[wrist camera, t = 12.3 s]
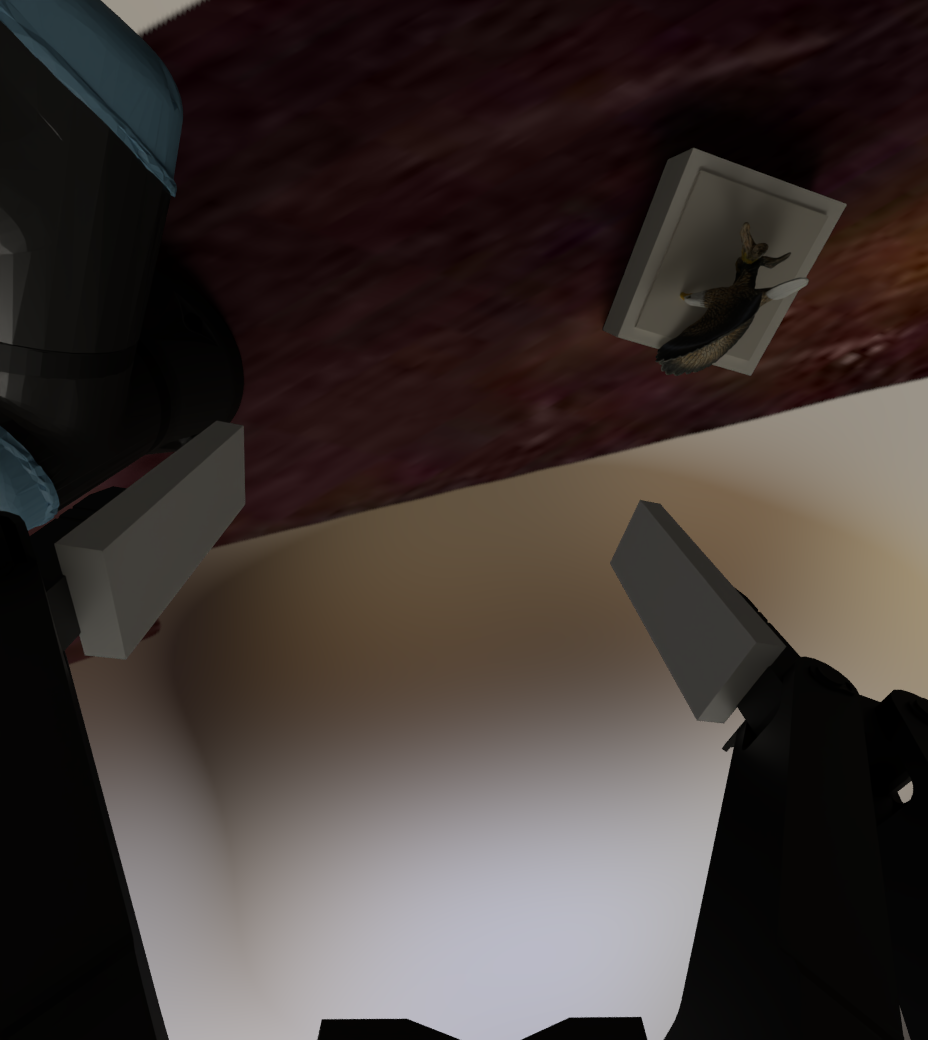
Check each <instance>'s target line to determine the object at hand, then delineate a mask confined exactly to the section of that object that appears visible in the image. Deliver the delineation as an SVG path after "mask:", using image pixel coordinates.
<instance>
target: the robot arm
mask: <svg viewBox="0 0 928 1040" xmlns="http://www.w3.org/2000/svg"><path fill="white" fill-rule="evenodd" d="M182 122H183V107H182V101H181V97H180V94H179V91H178V88H177V86H176V84H175V82H174V80H173V78H172V76H171V74H170V72H169V70H168V69H167V67H166V66H165V64H164V63H163V62H162V60H161V59H160V58H159V57H158V55H157V54H156V53H155V52H154V51H153V50H152V49H151V47H150V46H149V45H148V44H147V43H146V42H145V41H144V40H143V39H142V38H141V37H140V36H139V35H138V34H137V33H135V32H134V31H133V30H132V29H131V28H130V27H129V26H128V25H127V24H126V23H125V22H124V21H123V20H122V19H121V18H120V17H118V15H116V14H115V13H114V12H113V11H112V10H111V9H110V8H108V7H107V6H106V5H105V4H104V3H103V2H102V1H101V0H0V1040H169V1038H168V1035H167V1032H166V1028H165V1025H164V1021H163V1017H162V1014H161V1010H160V1007H159V1003H158V999H157V996H156V992H155V988H154V984H153V980H152V976H151V973H150V969H149V965H148V962H147V958H146V954H145V950H144V946H143V943H142V939H141V935H140V931H139V928H138V924H137V920H136V916H135V912H134V909H133V905H132V901H131V898H130V894H129V890H128V886H127V882H126V879H125V875H124V871H123V867H122V864H121V860H120V856H119V852H118V848H117V845H116V841H115V837H114V834H113V830H112V826H111V822H110V818H109V814H108V811H107V807H106V803H105V799H104V796H103V792H102V788H101V784H100V781H99V777H98V773H97V769H96V765H95V762H94V758H93V754H92V750H91V747H90V743H89V739H88V735H87V732H86V728H85V724H84V720H83V717H82V713H81V709H80V705H79V702H78V698H77V694H76V690H75V687H74V683H73V679H72V675H71V671H70V667H69V664H68V660H67V657H66V654H65V649H66V648H67V647H68V646H69V645H70V644H71V643H72V642H73V641H74V640H75V639H76V637H77V636H78V635H80V639H81V643H82V646H83V650H84V653H85V655H89V656H98V657H108V658H117V659H127V658H128V656H129V655H130V654H131V653H132V651H133V650H134V649H135V647H136V646H137V645H138V643H139V642H140V641H141V639H142V638H143V637H144V636H145V634H146V633H147V632H148V630H149V629H150V628H151V626H152V625H153V624H154V623H155V621H156V620H157V619H158V617H159V616H160V615H161V613H162V612H163V611H164V609H165V608H166V607H167V605H168V604H169V603H170V602H171V600H172V599H173V598H174V596H175V595H176V594H177V593H178V591H179V590H180V588H181V587H182V586H183V585H184V583H185V582H186V581H187V579H188V578H189V577H190V575H191V574H192V573H193V571H194V570H195V569H196V568H197V566H198V565H199V564H200V562H201V561H202V560H203V558H204V557H205V556H206V555H207V553H208V552H209V551H210V549H211V548H212V547H213V546H214V544H215V543H216V542H217V540H218V539H219V538H220V536H221V535H222V534H223V532H224V531H225V530H226V529H227V527H228V526H229V525H230V523H231V522H232V521H233V519H234V518H235V517H236V516H237V514H238V513H239V512H240V510H241V509H242V508H243V506H244V505H245V474H244V428H243V426H242V425H237V424H232V423H230V422H231V420H232V419H233V417H234V416H235V414H236V412H237V410H238V408H239V406H240V403H241V399H242V395H243V386H244V376H243V367H242V362H241V358H240V354H239V351H238V348H237V346H236V343H235V341H234V339H233V337H232V335H231V333H230V331H229V329H228V327H227V326H226V324H225V323H224V321H223V320H222V318H221V317H220V315H219V314H218V313H217V312H216V310H215V309H214V308H213V307H212V306H211V305H210V303H209V302H208V301H207V300H206V299H205V298H204V297H203V296H202V295H200V294H199V293H198V292H197V291H196V290H195V289H193V288H192V287H191V286H190V285H188V284H187V283H185V282H184V281H183V280H181V279H179V278H178V277H176V276H174V275H172V274H171V273H169V272H167V271H165V270H162V269H160V268H158V267H155V266H156V261H157V257H158V252H159V248H160V243H161V239H162V235H163V230H164V226H165V221H166V217H167V212H168V208H169V203H170V199H171V196H173V197H175V195H176V191H177V187H176V183H175V182H174V179H173V178H174V172H175V166H176V159H177V153H178V147H179V141H180V134H181V128H182ZM174 451H176V452H175V453H173V454H172V455H171V456H169V457H168V458H167V459H165V460H164V461H163V462H162V463H160V464H159V465H158V466H156V467H155V468H154V469H152V470H151V471H150V472H148V473H147V474H146V475H144V476H143V477H142V478H140V479H139V480H138V481H137V482H135V483H134V484H133V485H131V486H130V487H129V488H127V489H126V488H120V487H114V486H113V487H110V488H107V489H105V490H102V491H99V492H96V493H93V494H91V495H89V496H87V497H86V498H84V499H83V500H81V501H80V502H79V503H77V504H76V505H74V506H73V509H68V510H67V511H66V512H64V513H63V514H61V515H60V516H59V519H54V520H53V521H51V522H50V523H48V524H47V525H45V526H44V527H43V528H41V529H40V530H38V531H37V532H35V533H34V534H32V535H31V536H30V537H29V533H28V530H30V529H32V528H34V527H36V526H40V525H43V524H45V523H47V522H48V521H49V520H51V519H52V518H54V515H55V514H57V512H58V511H60V510H61V509H63V508H64V507H66V506H67V505H69V504H70V503H72V502H73V501H75V500H76V499H78V498H80V497H81V496H83V495H84V494H86V493H87V492H89V491H90V490H92V489H93V488H95V487H96V486H98V485H100V484H101V483H103V482H104V481H106V480H107V479H109V478H110V477H112V476H113V475H115V474H116V473H118V472H119V471H121V470H123V469H124V468H126V467H127V466H129V465H130V464H132V463H133V462H135V461H136V460H138V459H139V458H141V457H142V456H144V455H147V454H156V453H165V452H174ZM610 564H611V566H612V568H613V570H614V571H615V573H616V575H617V577H618V578H619V580H620V582H621V584H622V586H623V588H624V589H625V591H626V593H627V595H628V597H629V599H630V600H631V602H632V604H633V606H634V608H635V609H636V611H637V613H638V615H639V616H640V618H641V620H642V622H643V624H644V626H645V627H646V629H647V631H648V633H649V634H650V636H651V638H652V640H653V642H654V644H655V645H656V647H657V649H658V651H659V653H660V654H661V656H662V658H663V660H664V662H665V663H666V665H667V667H668V669H669V671H670V672H671V674H672V676H673V678H674V680H675V682H676V683H677V685H678V687H679V689H680V690H681V692H682V694H683V696H684V698H685V700H686V701H687V703H688V705H689V707H690V709H691V710H692V712H693V714H694V716H695V718H696V719H697V720H698V721H707V722H717V723H724V722H725V721H726V720H727V719H728V718H729V717H730V715H731V714H732V713H733V712H734V710H735V709H736V708H737V707H738V708H739V710H740V712H741V713H742V715H743V716H744V718H745V719H746V720H745V721H744V722H743V724H742V725H741V726H740V727H739V728H738V729H737V731H736V732H735V733H734V734H733V735H732V737H731V738H730V739H729V740H728V741H727V742H726V744H725V745H724V746H723V748H722V749H723V750H725V751H726V752H727V751H728V749H729V748H730V747H734V749H733V754H732V759H731V764H730V769H729V774H728V779H727V783H726V788H725V793H724V798H723V802H722V807H721V812H720V817H719V822H718V827H717V831H716V837H715V841H714V846H713V851H712V856H711V861H710V865H709V871H708V875H707V880H706V885H705V890H704V894H703V899H702V904H701V909H700V914H699V918H698V923H697V928H696V933H695V938H694V943H693V948H692V952H691V957H690V962H689V967H688V972H687V976H686V981H685V987H684V991H683V996H682V1001H681V1004H680V1008H679V1012H678V1014H677V1016H676V1019H675V1021H674V1023H673V1025H672V1027H671V1028H670V1030H669V1032H668V1033H667V1035H666V1037H665V1039H664V1040H904V1036H903V1030H902V1022H901V1015H900V1008H901V1011H902V1014H903V1017H904V1021H905V1023H906V1027H907V1029H908V1033H909V1036H910V1039H911V1040H928V700H927V699H925V698H921V697H919V696H917V695H915V694H913V693H910V692H907V691H903V690H893V691H892V692H891V693H890V694H889V695H888V696H887V697H886V698H885V699H884V700H883V701H882V702H878V701H875V700H873V699H870V698H867V697H865V696H862V695H859V693H858V691H857V689H856V688H855V687H854V685H853V684H852V683H851V682H850V681H849V680H848V679H847V678H846V677H844V676H843V675H842V674H841V673H840V672H839V671H837V670H835V669H834V668H832V667H831V666H829V665H827V664H825V663H823V662H821V661H819V660H816V659H814V658H809V657H800V656H799V655H798V654H797V653H796V651H795V650H794V649H793V648H792V647H791V646H790V645H789V644H788V642H787V641H786V640H785V639H784V638H783V637H782V636H781V635H780V633H779V632H778V631H777V630H776V629H775V628H774V627H773V626H772V625H771V624H770V623H768V622H767V619H766V618H765V617H764V616H763V614H762V613H761V612H758V609H757V608H756V607H755V606H754V604H753V603H752V602H751V601H750V600H749V599H748V598H747V597H746V596H745V595H744V594H742V593H741V592H739V591H738V590H737V589H736V588H734V587H733V586H732V585H731V583H730V582H729V581H728V580H727V579H726V578H725V577H724V576H723V574H722V573H721V572H720V571H719V570H718V569H717V568H716V567H715V565H714V564H713V563H712V562H711V561H710V560H709V559H708V557H706V555H705V554H704V553H703V552H702V551H701V550H700V549H699V547H698V546H697V545H696V544H695V543H694V542H693V541H692V539H690V537H689V536H688V535H687V534H686V533H685V531H684V530H683V529H682V528H681V527H680V526H679V525H678V524H677V522H676V521H675V520H674V519H673V518H672V517H671V516H670V515H669V513H668V512H667V511H666V510H665V509H664V508H663V507H662V505H661V504H658V503H652V502H647V501H642V500H640V501H639V503H638V505H637V508H636V510H635V512H634V514H633V516H632V518H631V520H630V522H629V525H628V527H627V529H626V531H625V533H624V535H623V537H622V539H621V541H620V543H619V545H618V547H617V550H616V552H615V554H614V556H613V558H612V560H611V562H610ZM910 781H912V783H913V795H912V797H911V800H909V801H908V802H906V803H903V802H902V801H901V799H900V797H899V794H898V791H899V790H900V789H902V788H903V787H904V786H905V785H907V784H908V783H909V782H910ZM899 1005H900V1006H899ZM318 1040H459V1039H457V1038H454V1037H452V1036H449V1035H447V1034H444V1033H442V1032H439V1031H437V1030H434V1029H432V1028H429V1027H426V1026H424V1025H421V1024H419V1023H416V1022H413V1021H411V1020H409V1019H322V1021H321V1026H320V1030H319V1035H318ZM522 1040H647V1037H646V1033H645V1029H644V1025H643V1022H642V1018H641V1017H590V1018H589V1017H588V1018H586V1017H585V1018H568V1019H566V1020H563V1021H561V1022H559V1023H557V1024H555V1025H552V1026H550V1027H548V1028H546V1029H544V1030H541V1031H539V1032H537V1033H535V1034H533V1035H531V1036H529V1037H526V1038H524V1039H522Z"/></svg>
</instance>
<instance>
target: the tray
mask: <svg viewBox="0 0 928 1040" xmlns="http://www.w3.org/2000/svg"><path fill="white" fill-rule="evenodd" d="M846 205H847V204H844V203H842V202H839V201H836V200H834V199H831V198H828V197H825V196H823V195H820V194H817V193H815V192H812V191H809V190H806V189H804V188H801V187H798V186H796V185H793V184H790V183H787V182H785V181H782V180H779V179H777V178H774V177H771V176H769V175H766V174H763V173H760V172H758V171H755V170H752V169H750V168H747V167H744V166H741V165H739V164H736V163H733V162H731V161H728V160H725V159H722V158H720V157H717V156H714V155H712V154H709V153H706V152H703V151H701V150H698V149H695V148H692V149H690V150H688V151H685V152H683V153H681V154H679V155H677V156H675V157H672V158H670V159H668V161H667V163H666V166H665V168H664V171H663V174H662V176H661V179H660V181H659V184H658V187H657V189H656V192H655V194H654V197H653V200H652V202H651V205H650V208H649V210H648V213H647V215H646V218H645V221H644V223H643V226H642V228H641V231H640V234H639V236H638V239H637V241H636V244H635V247H634V249H633V252H632V255H631V257H630V260H629V262H628V265H627V268H626V270H625V273H624V275H623V278H622V281H621V283H620V286H619V288H618V291H617V294H616V296H615V299H614V302H613V304H612V307H611V309H610V312H609V315H608V317H607V320H606V322H605V325H604V328H603V331H605V332H608V333H610V334H612V335H614V336H616V337H619V338H623V339H626V340H629V341H633V342H636V343H640V344H643V345H647V346H650V347H654V348H657V349H659V348H660V347H662V346H663V345H664V344H665V343H667V342H668V341H670V340H671V339H673V338H676V337H677V336H679V335H680V334H681V333H682V331H683V330H685V329H686V328H687V327H688V326H690V325H692V324H693V323H695V322H696V321H698V320H699V319H700V318H701V317H702V316H703V315H704V314H705V312H706V311H707V309H708V308H705V307H699V306H692V305H690V304H688V303H686V302H685V301H684V300H683V299H682V298H681V297H680V294H681V292H684V293H686V294H690V293H697V292H701V291H705V290H709V289H712V288H719V287H730V286H732V285H733V283H734V281H735V278H736V266H735V263H736V261H737V259H738V258H739V257H741V256H742V254H741V253H742V252H741V251H742V245H743V243H742V242H741V237H740V231H741V228H742V226H743V224H744V223H745V222H748V223H749V224H750V234H751V236H752V238H753V240H754V242H755V243H756V244H759V243H766V244H767V245H768V246H769V247H768V250H767V251H766V253H765V254H764V255H763V256H768V257H773V258H778V257H781V256H783V255H785V254H787V253H789V252H791V255H790V256H789V258H787V259H786V260H785V261H783V262H781V263H779V264H777V265H776V266H775V267H774V268H772V269H769V268H767V267H764V266H760V267H759V269H758V275H757V276H756V282H755V283H756V286H755V289H761V288H769V287H774V286H776V285H778V284H781V283H784V282H786V281H789V280H792V279H795V278H799V277H801V278H806V276H807V275H808V273H809V271H810V269H811V267H812V266H813V264H814V262H815V260H816V258H817V257H818V255H819V253H820V251H821V250H822V248H823V246H824V244H825V242H826V241H827V239H828V237H829V235H830V233H831V232H832V230H833V228H834V226H835V225H836V223H837V221H838V219H839V217H840V216H841V214H842V212H843V210H844V209H845V207H846ZM798 291H799V290H798ZM798 291H795V292H793V293H792V294H790V295H789V296H787V297H785V298H782V299H778V300H771V301H769V302H768V303H766V304H764V305H762V306H761V307H760V308H759V310H758V312H757V313H756V314H755V317H754V319H753V322H752V323H751V325H750V326H749V328H748V329H747V331H746V332H745V334H744V335H743V336H742V337H741V339H739V340H738V342H737V343H736V344H735V345H734V346H733V347H732V348H731V349H729V350H728V352H727V353H726V354H725V355H724V356H723V357H721V358H720V359H719V360H718V361H717V362H716V363H713V364H712V365H716V366H719V367H723V368H726V369H730V370H733V371H736V372H740V373H743V374H747V375H750V376H751V374H752V373H753V371H754V369H755V367H756V365H757V364H758V362H759V360H760V358H761V357H762V355H763V353H764V351H765V349H766V348H767V346H768V344H769V342H770V341H771V339H772V337H773V335H774V333H775V332H776V330H777V328H778V326H779V324H780V323H781V321H782V319H783V317H784V316H785V314H786V312H787V310H788V308H789V307H790V305H791V303H792V301H793V299H794V298H795V296H796V294H797V292H798Z"/></svg>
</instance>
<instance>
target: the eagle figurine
mask: <svg viewBox="0 0 928 1040" xmlns="http://www.w3.org/2000/svg"><path fill="white" fill-rule="evenodd" d="M740 237H741V242H742V243H743V245H742V251H741V252H742V253H741V254H742V256H741V257H739V258H738V259H737V261H736V263H735V266H736V278H735V281H734V283H733V285H732V286H730V287H719V288H712V289H709V290H705V291H701V292H697V293H690V294H686V293H684V292H681V294H680V297H681V298H682V299H683V300H684V301H685V302H686V303H688V304H690V305H692V306H699V307H705V308H708V309H707V311H706V312H705V314H704V315H703V316H702V317H701V318H700V319H699V320H698V321H696V322H695V323H693V324H692V325H690V326H688V327H687V328H686V329H685V330H683V331H682V333H681V334H680V335H679V336H677V337H676V338H673V339H671V340H670V341H668V342H667V343H665V344H664V345H663V346H662V347H660V348H659V349H658V351H657V353H658V354H657V356H656V358H657V359H656V362H659V364H661V365H662V367H661V371H665V373H666V375H670V374H674V375H675V376H678V375H681V374H683V373H684V372H686V374H690V373H691V372H693V371H694V372H698V371H700V370H703V369H704V368H705V367H709V366H711V365H712V364H713V363H716V362H717V361H718V360H719V359H720V358H721V357H723V356H724V355H725V354H726V353H727V352H728V350H729V349H731V348H732V347H733V346H734V345H735V344H736V343H737V342H738V340H739V339H741V337H742V336H743V335H744V334H745V332H746V331H747V329H748V328H749V326H750V325H751V323H752V322H753V319H754V317H755V314H756V313H757V312H758V310H759V308H760V307H761V306H762V305H764V304H766V303H768V302H769V301H771V300H778V299H782V298H785V297H787V296H789V295H790V294H792V293H793V292H795V291H798V290H800V289H801V288H802V287H805V286H806V285H807V284H808V281H809V280H808V279H807V278H801V277H799V278H795V279H792V280H789V281H786V282H784V283H781V284H778V285H776V286H774V287H769V288H761V289H755V286H756V283H755V282H756V276H757V275H758V269H759V267H760V266H764V267H767V268H769V269H772V268H774V267H775V266H776V265H777V264H779V263H781V262H783V261H785V260H786V259H787V258H789V256H790V255H791V252H789V253H787V254H785V255H783V256H781V257H778V258H773V257H768V256H763V255H764V254H765V253H766V251H767V250H768V247H769V246H768V245H767V244H766V243H759V244H756V243H755V242H754V240H753V238H752V236H751V234H750V224H749V223H748V222H745V223H744V224H743V226H742V228H741V231H740Z"/></svg>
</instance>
